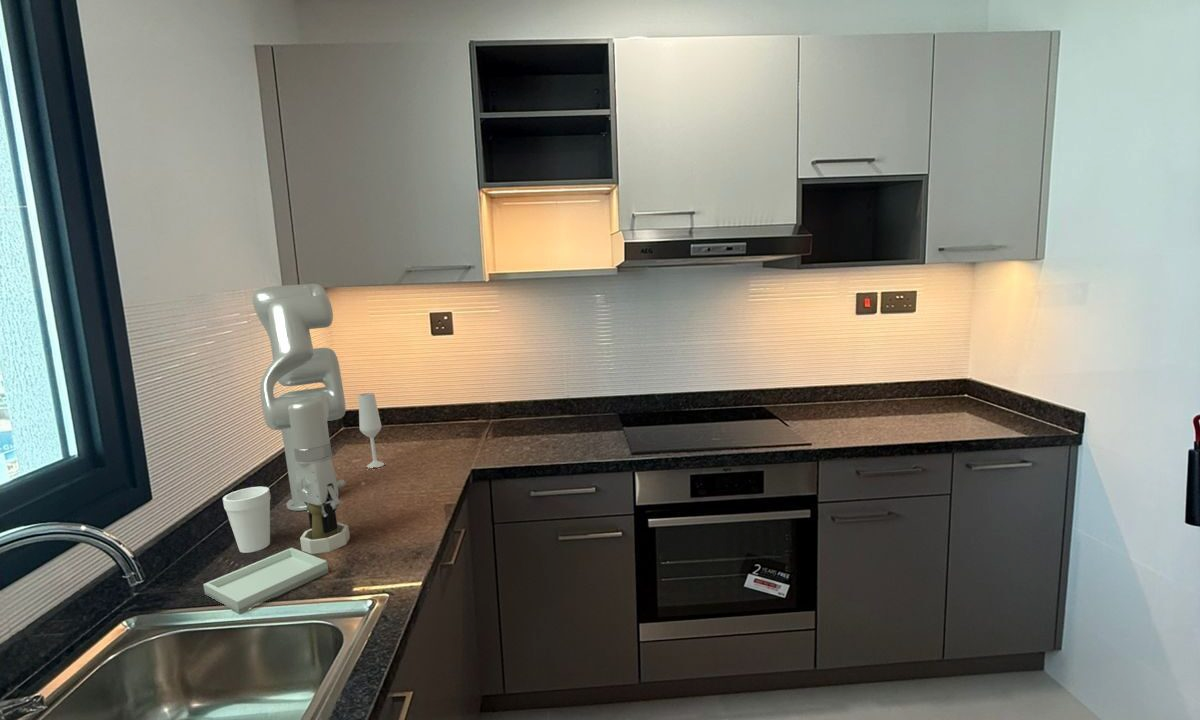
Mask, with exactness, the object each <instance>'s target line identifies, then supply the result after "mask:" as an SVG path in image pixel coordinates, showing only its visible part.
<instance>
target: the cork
mask: <svg viewBox="0 0 1200 720" xmlns="http://www.w3.org/2000/svg"><path fill="white" fill-rule="evenodd" d="M328 500H329V499H328V498H327V499H326V501H328ZM325 506H326V509H327V507H328V506H330V503H329V504H327V505H325ZM308 508H309V512H310V513H311V514H312V540H315V539H322V538H328V537H331V536H333V535H335V534H338V532H337V529H336V530H333V531H331V532H328V533H324V532H323V526H322V519H321V517H322V516H323V514H322V510H321V507H320V506H317V505H313V504H310V503H309V506H308ZM309 512H308V513H309Z"/></svg>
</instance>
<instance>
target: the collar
mask: <svg viewBox="0 0 1200 720" xmlns="http://www.w3.org/2000/svg"><path fill="white" fill-rule="evenodd" d="M337 532H338V534H335V535H333V536H331V537H328V538H322V539H315V540H312V529H311V528H310V529H307V530H305V531H304V532H303V533H302V535H301V536H300V538H299V540H300V548H301V551H302V552H304V553H307V554H310V555H314V554H321V553H322V554H323V553H329V552H333V551H334V550H337V549H339V548H342V547H343V546H346V545H347V543H348V542H349V540H350V538H351V536H350V529H349V525H348V524H345V523H342V522H337Z"/></svg>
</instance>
